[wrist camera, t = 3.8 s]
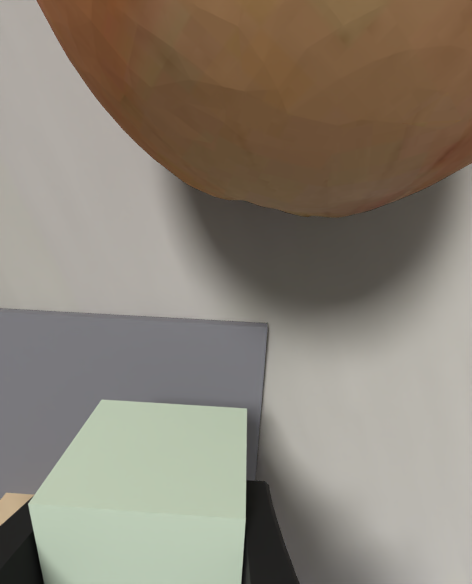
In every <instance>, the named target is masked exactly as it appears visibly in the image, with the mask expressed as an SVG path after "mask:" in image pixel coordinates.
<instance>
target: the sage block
mask: <svg viewBox="0 0 472 584" xmlns="http://www.w3.org/2000/svg"><path fill="white" fill-rule="evenodd" d="M246 454H247V408H232V407H216V406H199V405H183V404H167V403H150V402H134V401H118V400H101V401H100V403H99V404H98V405H97V407H96V408H95V410H94V411H93V412H92V414H91V415H90V417H89V418H88V420H87V421H86V422H85V424H84V425H83V427H82V428H81V430H80V431H79V432H78V434H77V435H76V437H75V438H74V439H73V441H72V442H71V444H70V445H69V447H68V448H67V449H66V451H65V452H64V454H63V455H62V456H61V458H60V459H59V461H58V462H57V464H56V465H55V466H54V468H53V469H52V471H51V472H50V474H49V475H48V476H47V478H46V479H45V481H44V482H43V483H42V485H41V486H40V488H39V489H38V491H37V492H36V493H35V495H34V496H33V498H32V499H31V501H30V502H29V503H28V506H29V511H30V516H31V521H32V526H33V531H34V536H35V541H36V546H37V551H38V556H39V561H40V565H41V570H42V575H43V580H44V584H241V580H242V565H243V551H244V536H245V522H246Z"/></svg>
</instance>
